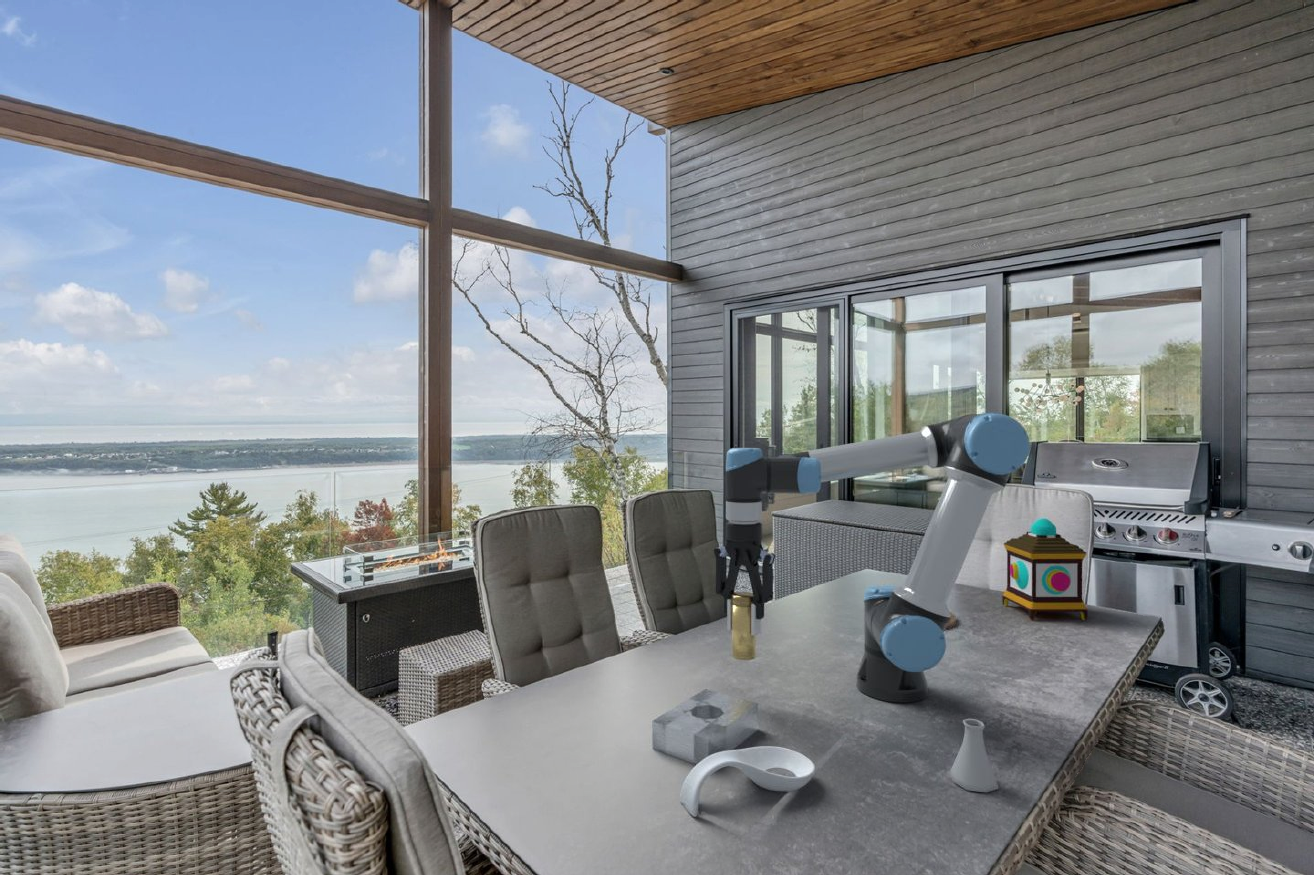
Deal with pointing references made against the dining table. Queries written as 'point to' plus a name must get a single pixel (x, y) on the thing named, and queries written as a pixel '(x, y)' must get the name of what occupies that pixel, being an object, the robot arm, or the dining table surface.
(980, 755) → the flask
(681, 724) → the bore housing
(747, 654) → the gold capped cylinder
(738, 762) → the spoon rest
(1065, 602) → the decorative lantern
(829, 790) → the dining table surface
